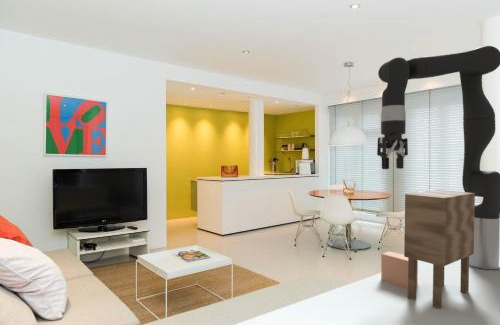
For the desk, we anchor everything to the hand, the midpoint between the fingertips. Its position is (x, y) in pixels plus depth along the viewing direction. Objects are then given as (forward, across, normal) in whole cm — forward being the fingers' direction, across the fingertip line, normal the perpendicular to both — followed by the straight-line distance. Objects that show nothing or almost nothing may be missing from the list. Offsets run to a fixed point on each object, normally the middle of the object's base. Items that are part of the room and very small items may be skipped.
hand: (392, 168), depth 112 cm
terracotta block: (+34, -9, -8) cm, 36 cm away
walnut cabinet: (+34, -9, -19) cm, 40 cm away
